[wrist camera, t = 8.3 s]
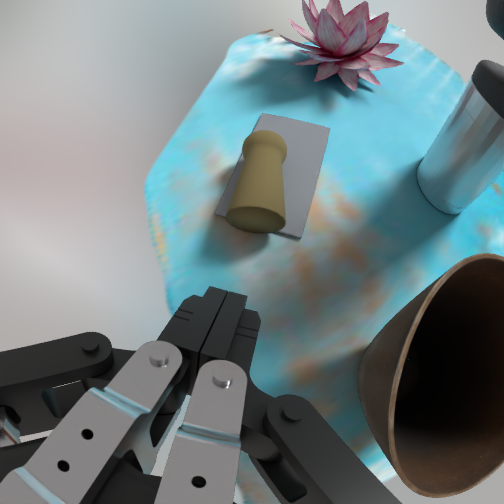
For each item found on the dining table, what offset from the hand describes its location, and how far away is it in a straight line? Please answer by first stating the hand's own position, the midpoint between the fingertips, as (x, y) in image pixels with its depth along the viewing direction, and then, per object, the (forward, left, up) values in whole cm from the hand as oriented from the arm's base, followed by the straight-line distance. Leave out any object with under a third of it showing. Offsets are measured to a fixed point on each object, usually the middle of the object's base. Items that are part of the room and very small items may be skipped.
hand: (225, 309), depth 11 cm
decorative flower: (-46, +1, -17) cm, 49 cm away
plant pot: (0, +15, -17) cm, 23 cm away
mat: (-20, -3, -17) cm, 26 cm away
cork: (-10, -3, -14) cm, 17 cm away
